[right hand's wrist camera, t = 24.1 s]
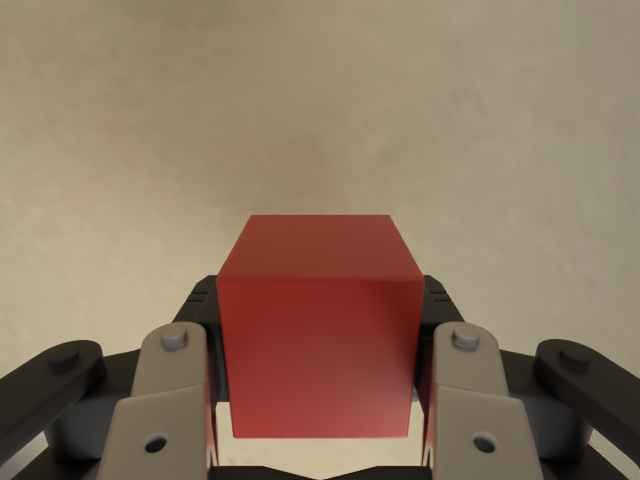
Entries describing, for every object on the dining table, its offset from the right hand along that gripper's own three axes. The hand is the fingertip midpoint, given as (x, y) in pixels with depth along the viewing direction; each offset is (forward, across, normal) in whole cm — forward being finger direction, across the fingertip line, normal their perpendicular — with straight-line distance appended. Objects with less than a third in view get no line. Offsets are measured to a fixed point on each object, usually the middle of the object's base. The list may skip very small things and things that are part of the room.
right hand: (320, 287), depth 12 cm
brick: (0, 0, 0) cm, 0 cm away
